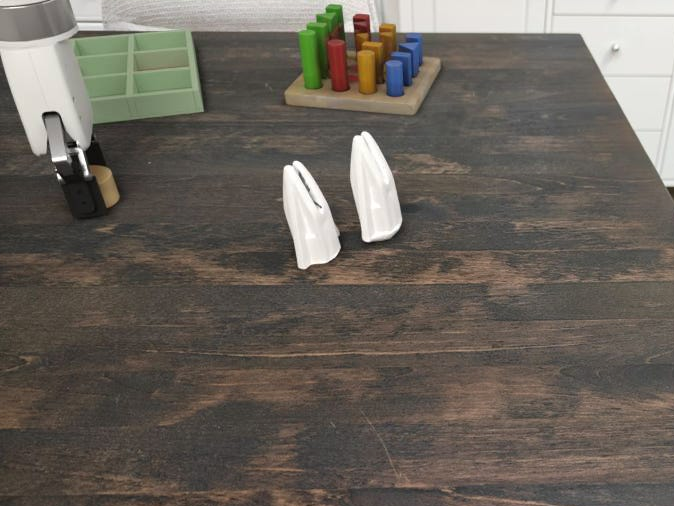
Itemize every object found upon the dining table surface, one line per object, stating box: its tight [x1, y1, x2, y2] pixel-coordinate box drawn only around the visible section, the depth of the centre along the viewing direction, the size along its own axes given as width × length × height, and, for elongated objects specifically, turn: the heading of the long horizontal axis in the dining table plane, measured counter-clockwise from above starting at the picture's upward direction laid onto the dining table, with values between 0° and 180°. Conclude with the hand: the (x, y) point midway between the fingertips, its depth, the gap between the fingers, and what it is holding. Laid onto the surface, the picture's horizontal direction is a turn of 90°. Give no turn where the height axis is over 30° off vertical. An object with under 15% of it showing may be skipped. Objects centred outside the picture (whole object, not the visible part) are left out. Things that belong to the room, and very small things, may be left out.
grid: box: [69, 28, 205, 125], centre depth 100 cm, size 16×24×3 cm
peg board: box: [283, 3, 442, 116], centre depth 100 cm, size 18×17×9 cm
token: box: [58, 165, 121, 209], centre depth 77 cm, size 5×5×3 cm
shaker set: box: [282, 131, 403, 270], centre depth 69 cm, size 12×4×11 cm, turn 121°
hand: (92, 195), depth 77 cm, fingers open, 7 cm apart
